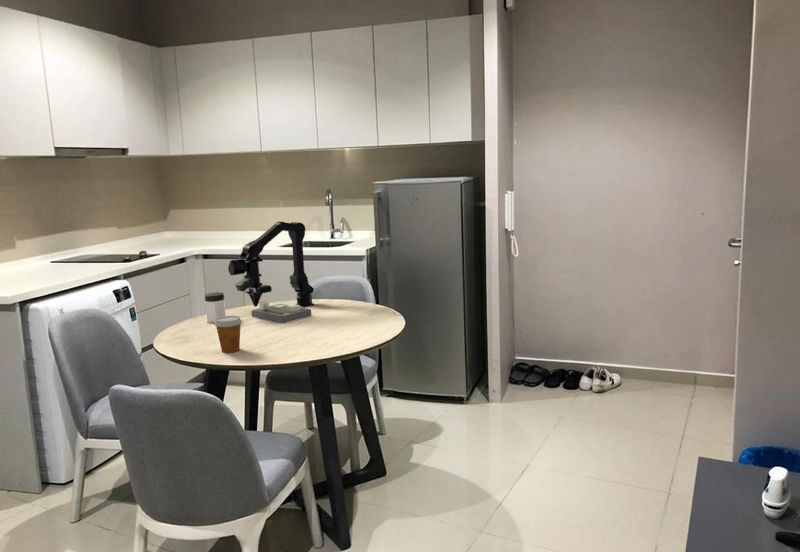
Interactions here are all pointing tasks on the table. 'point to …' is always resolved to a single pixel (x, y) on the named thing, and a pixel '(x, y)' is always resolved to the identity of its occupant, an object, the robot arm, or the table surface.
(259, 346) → the table surface
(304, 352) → the table surface
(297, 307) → the offwhite button
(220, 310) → the jar
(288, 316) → the control panel
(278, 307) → the sage button
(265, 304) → the slider knob
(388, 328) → the table surface
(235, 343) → the disposable coffee cup
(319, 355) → the table surface
